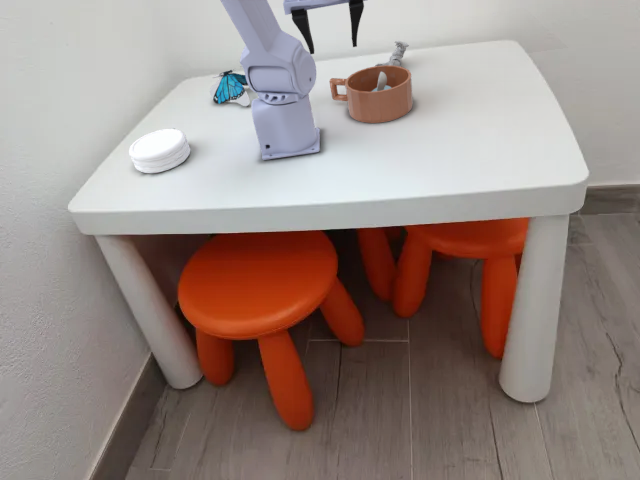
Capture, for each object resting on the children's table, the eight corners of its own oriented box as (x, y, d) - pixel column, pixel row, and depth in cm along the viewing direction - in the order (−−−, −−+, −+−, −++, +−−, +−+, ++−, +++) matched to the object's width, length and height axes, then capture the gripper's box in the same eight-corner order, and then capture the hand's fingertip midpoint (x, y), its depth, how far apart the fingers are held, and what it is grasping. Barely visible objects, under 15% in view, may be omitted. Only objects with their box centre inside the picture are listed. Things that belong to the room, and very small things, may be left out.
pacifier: (357, 117, 88) (391, 115, 87) (351, 83, 84) (387, 80, 83) (363, 99, 94) (396, 96, 92) (358, 66, 90) (392, 62, 88)
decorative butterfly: (218, 68, 109) (255, 54, 104) (232, 95, 112) (269, 83, 107) (195, 88, 102) (234, 74, 97) (211, 116, 105) (250, 105, 100)
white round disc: (186, 139, 94) (180, 122, 92) (195, 162, 86) (188, 144, 84) (133, 156, 92) (126, 139, 90) (137, 181, 84) (129, 163, 82)
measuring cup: (422, 96, 91) (420, 66, 88) (397, 125, 84) (394, 94, 81) (347, 90, 99) (343, 63, 95) (318, 117, 92) (313, 88, 88)
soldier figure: (365, 86, 101) (376, 46, 107) (385, 99, 103) (395, 58, 108) (388, 62, 95) (398, 21, 100) (409, 76, 96) (418, 35, 102)
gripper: (363, -48, 85) (371, 34, 93) (279, -32, 86) (294, 47, 95) (366, -40, 79) (375, 47, 88) (276, -23, 81) (293, 61, 89)
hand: (333, 48), depth 91 cm, fingers open, 7 cm apart
